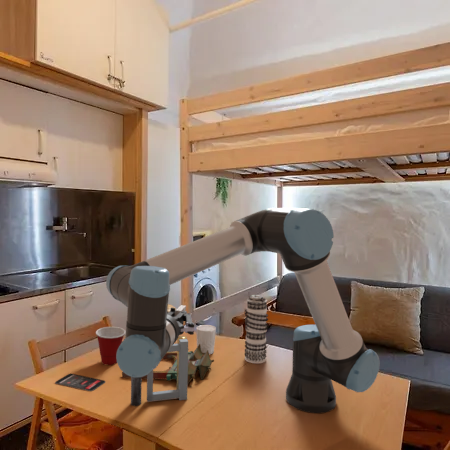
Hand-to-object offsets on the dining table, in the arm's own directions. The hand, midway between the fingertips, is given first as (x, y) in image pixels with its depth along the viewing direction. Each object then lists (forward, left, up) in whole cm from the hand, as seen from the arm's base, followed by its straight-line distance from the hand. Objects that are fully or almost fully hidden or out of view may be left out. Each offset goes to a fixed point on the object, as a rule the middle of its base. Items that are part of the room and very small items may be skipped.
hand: (182, 310), depth 104 cm
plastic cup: (+31, -34, -30) cm, 55 cm away
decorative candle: (-24, -41, -30) cm, 56 cm away
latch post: (+2, -12, -30) cm, 32 cm away
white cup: (-4, -47, -30) cm, 56 cm away
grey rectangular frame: (+5, -8, -30) cm, 31 cm away
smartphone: (+36, -17, -31) cm, 50 cm away
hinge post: (+14, -5, -30) cm, 34 cm away
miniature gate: (+7, -30, -31) cm, 44 cm away
